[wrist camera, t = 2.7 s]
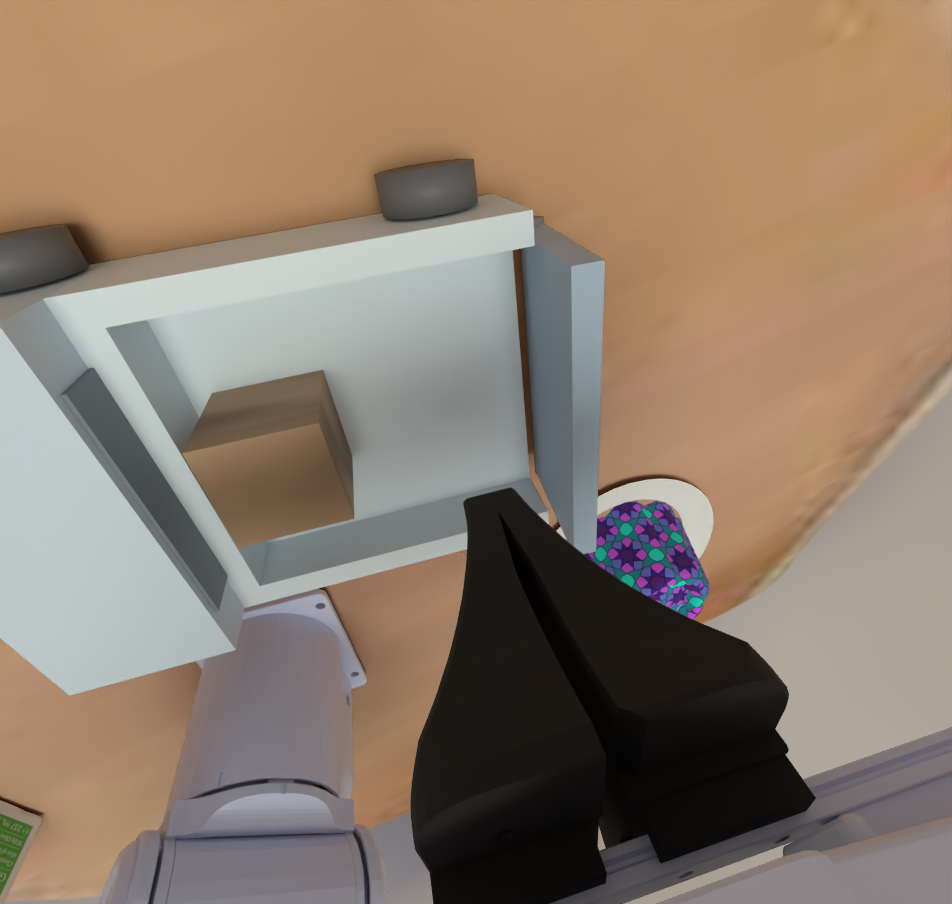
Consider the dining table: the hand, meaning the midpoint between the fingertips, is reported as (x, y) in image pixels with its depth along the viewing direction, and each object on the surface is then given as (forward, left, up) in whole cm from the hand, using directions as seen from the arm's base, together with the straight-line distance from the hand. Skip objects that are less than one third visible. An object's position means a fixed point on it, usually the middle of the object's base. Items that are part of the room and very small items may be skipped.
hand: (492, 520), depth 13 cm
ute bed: (0, +6, -10) cm, 12 cm away
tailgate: (0, -5, -6) cm, 8 cm away
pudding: (-15, -10, -10) cm, 21 cm away
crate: (0, +6, -8) cm, 10 cm away
